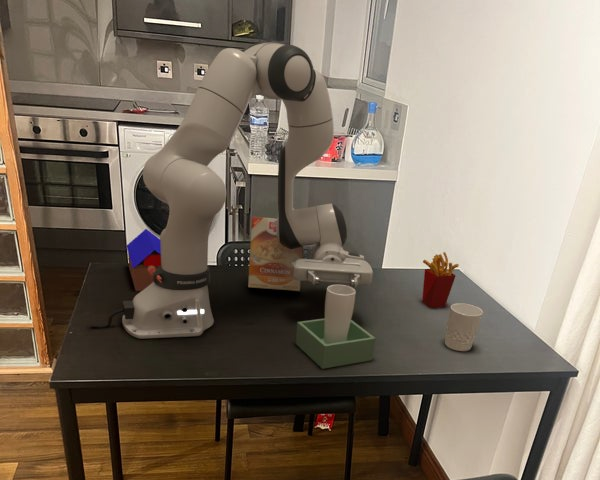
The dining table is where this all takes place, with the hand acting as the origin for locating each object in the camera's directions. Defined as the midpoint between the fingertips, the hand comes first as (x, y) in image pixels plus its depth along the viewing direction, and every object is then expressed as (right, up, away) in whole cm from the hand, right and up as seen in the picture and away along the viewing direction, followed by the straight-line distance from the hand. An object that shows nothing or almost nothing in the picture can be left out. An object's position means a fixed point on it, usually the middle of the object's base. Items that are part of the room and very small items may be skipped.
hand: (335, 283), depth 147 cm
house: (-52, +7, +29) cm, 60 cm away
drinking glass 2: (0, -17, -3) cm, 17 cm away
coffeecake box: (-16, +3, +26) cm, 31 cm away
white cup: (+32, -15, +6) cm, 36 cm away
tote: (-1, -17, -3) cm, 17 cm away
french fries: (+30, 0, +30) cm, 42 cm away
